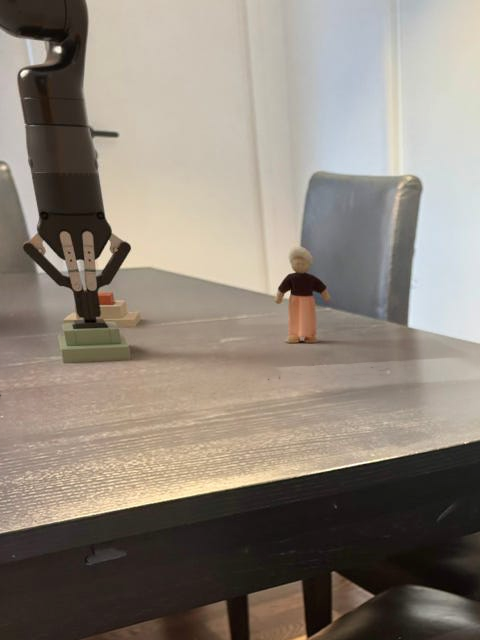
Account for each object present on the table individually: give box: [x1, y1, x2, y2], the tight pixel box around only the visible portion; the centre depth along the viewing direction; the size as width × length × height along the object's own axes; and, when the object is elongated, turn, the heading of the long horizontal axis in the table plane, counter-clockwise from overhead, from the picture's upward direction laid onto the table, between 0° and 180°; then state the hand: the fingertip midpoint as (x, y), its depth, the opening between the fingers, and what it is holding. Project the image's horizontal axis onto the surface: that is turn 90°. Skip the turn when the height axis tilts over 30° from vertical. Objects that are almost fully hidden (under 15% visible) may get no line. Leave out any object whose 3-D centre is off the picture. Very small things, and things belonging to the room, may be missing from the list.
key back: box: [98, 292, 115, 305], centre depth 139 cm, size 4×4×2 cm
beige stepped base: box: [62, 300, 142, 329], centre depth 140 cm, size 10×8×3 cm
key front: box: [74, 319, 106, 329], centre depth 117 cm, size 4×4×2 cm
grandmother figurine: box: [274, 245, 331, 344], centre depth 128 cm, size 8×4×13 cm, turn 114°
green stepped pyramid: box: [57, 321, 132, 364], centre depth 118 cm, size 11×8×4 cm
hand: (90, 321), depth 117 cm, fingers closed
